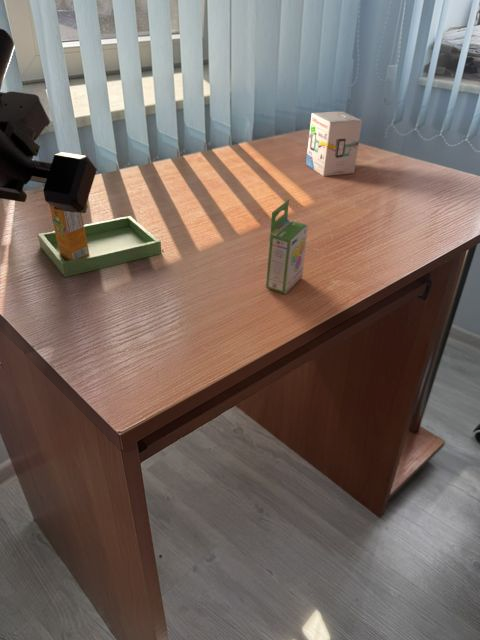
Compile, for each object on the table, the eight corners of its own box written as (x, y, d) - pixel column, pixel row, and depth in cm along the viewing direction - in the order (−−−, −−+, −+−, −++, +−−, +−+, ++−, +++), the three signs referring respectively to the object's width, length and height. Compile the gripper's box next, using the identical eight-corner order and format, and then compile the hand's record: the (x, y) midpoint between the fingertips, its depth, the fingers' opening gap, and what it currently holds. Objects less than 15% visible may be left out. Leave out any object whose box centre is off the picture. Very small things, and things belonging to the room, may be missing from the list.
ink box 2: (304, 164, 123) (310, 111, 116) (335, 161, 126) (342, 110, 119) (323, 176, 117) (330, 121, 109) (354, 173, 120) (363, 119, 113)
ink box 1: (286, 295, 74) (293, 218, 67) (264, 288, 76) (270, 212, 68) (302, 277, 79) (311, 203, 72) (282, 271, 80) (288, 198, 73)
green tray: (65, 277, 75) (62, 264, 74) (40, 246, 82) (37, 234, 81) (161, 253, 82) (160, 241, 81) (131, 227, 90) (130, 215, 88)
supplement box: (58, 262, 77) (45, 197, 71) (78, 255, 79) (67, 191, 73) (72, 270, 75) (60, 204, 69) (92, 262, 78) (81, 197, 72)
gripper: (74, 79, 54) (134, 159, 69) (-76, 60, 57) (13, 139, 73) (43, 178, 52) (111, 237, 68) (-109, 152, 56) (-12, 213, 71)
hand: (54, 204), depth 70 cm, fingers open, 9 cm apart
